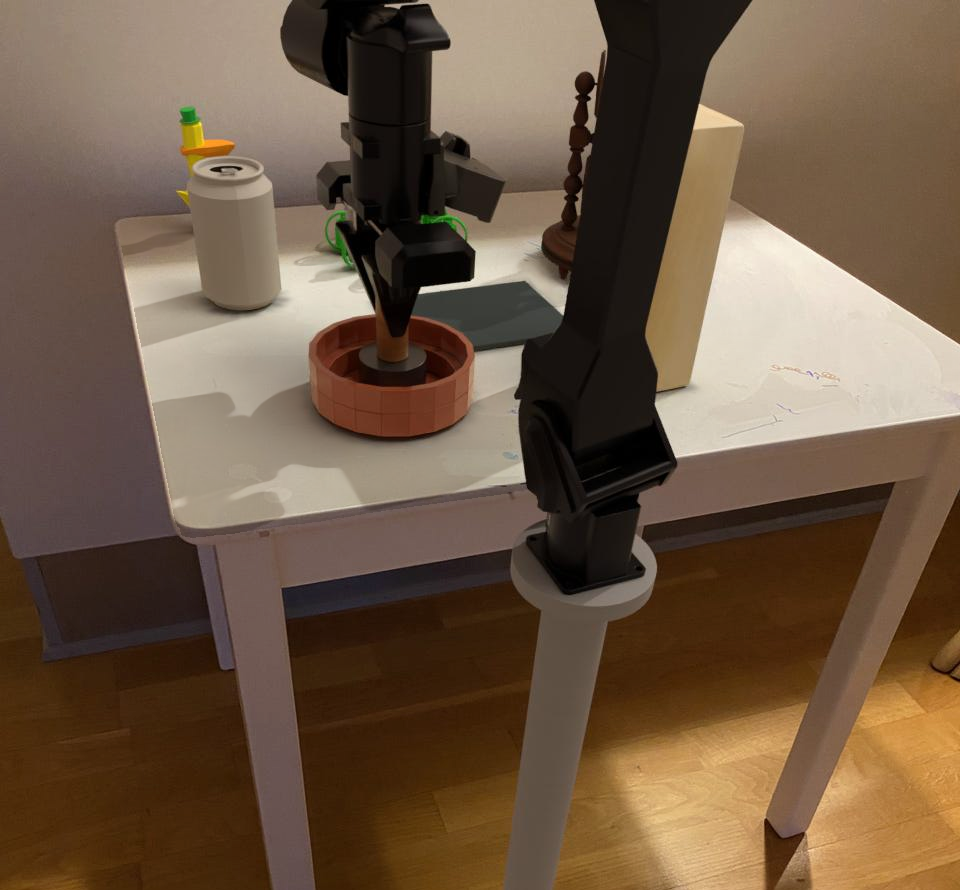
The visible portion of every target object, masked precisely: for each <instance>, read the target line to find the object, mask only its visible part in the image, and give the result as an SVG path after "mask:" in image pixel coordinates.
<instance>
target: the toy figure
mask: <svg viewBox="0 0 960 890" xmlns="http://www.w3.org/2000/svg"><path fill="white" fill-rule="evenodd" d="M179 113H180V115H181V118H180V119H179V123H180V129H181V136H182V143H183V145H182V146H180V147H179V150H180V155H182V156H183V157H185V159H186V163H187V166H188V170H189V174H190V178H191V177H192V176H193V175H194V173H193V172H192V166H193V165H194V164H195V163H196V162H198V161H200V160H202V159H207V158H211V157H220V156H230V154H231V153H232V151H233V150H235V147H236V144H235V142H233V141H230V140H227V139H216V138H215V139H204V130H203V123H202V122H201V120H202V118H201V117H200V116H197V111H196V107H194V106H184V107H181V108H180V109H179ZM175 192H176V194H177V195H178V196H179V197H180V199H182V200H183V202H184V203H185V204H186V206H187V207H188V208H189V209H190V205H189V198H188V191H187V189H186V190H175Z"/></svg>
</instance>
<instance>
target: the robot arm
mask: <svg viewBox="0 0 960 890" xmlns="http://www.w3.org/2000/svg"><path fill="white" fill-rule="evenodd" d="M419 1H420V0H291V1H290V2H289V4H288V6H287V7H286V9H285V13H284V15H283V19H282V25H281V26H280V28H279V30H280V32H279V37H280V43H281V49H282V51H283V54H284V55H285V59H286V60H287V62H288V63H289V65H290V66H291V67H292V68H293V69H294V70H295V71H296V72H297V73H298V74H300V75H301V76H304V77H306V78H308V79H310V80H312V81H314V82H316V83H318V84H320V85H322V86H324V87H326V88H328V89H330V90H332V91H334V92H335V93H338V94H340V95H342V96H346V97H347V106H348V107H347V108H348V121H342V122H340V138H341V139H342V141H344V143H346V144H347V145H348V146H349V160H334V161H326V162H325V163H324V165H323V166H322V167H321V168H320V169H319V171H318V172H317V173H316V176H315V179H316V195H317V200H318V202H319V203H320V204H321V205H322V207H323V208H324V209H325V210H326V211H334V210H335V208H336V205H337V202H338V201H337V199H338V198H339V199H340V201H339V202H340V203H341V204H342V205H343V206H344V211H345V220H344V221H338V222H336V221H335V224H334V225H335V226H336V229H337V231H338V232H339V234H340V236H341V238H342V240H343V242H344V245H345V247H346V249H347V251H348V253H349V256H350V258H351V260H352V262H353V266H355V269H354V270H355V271H356V273H357V275H358V277H359V280H360V282H361V284H362V286H363V288H364V290H365V291H364V292H365V293H366V296H367V298H368V300H369V302H370V304H371V307H372V310H373V312H374V314H376V300H375V296H376V298H377V301H378V304H379V307H380V309H381V312H382V315H383V318H384V320H385V323H386V326H387V328H388V331H389V333H390V335H391V337H393V338H395V337H402V336H404V335H405V332H406V329H407V326H408V323H409V320H410V317H411V314H412V311H413V308H414V305H415V302H416V299H417V296H418V294H420V291H421V288H426V287H435V286H436V287H437V286H444V285H450V284H451V285H453V284H461V283H468V282H471V281H472V280H473V279H475V274H476V273H475V272H476V271H475V270H476V268H475V267H476V255H477V251H476V250H475V249H474V248H473V246H471V244H470V243H469V242H468V240H467V241H466V240H465V238H464V237H463V236H461V234H460V233H459V232H458V231H457V232H456V231H455V230H454V229H453V228H452V227H451V226H450V225H449V224H448V223H447V222H443V221H442V222H437V223H427V224H423V223H421V222H420V220H422V216H423V215H428V216H429V217H439V216H445V209H446V207H447V208H448V209H452V210H453V211H454V210H455V211H458V212H461V213H464V214H467V215H470V216H473V217H476V219H477V220H478V221H480V222H483V223H486V224H490V223H491V222H492V220H493V217H494V216H495V215H494V214H495V212H496V209H497V207H498V204H499V201H500V199H501V196H502V193H503V190H504V188H505V186H506V182H507V180H506V179H505V178H504V177H502V176H501V175H500V174H498V173H497V172H496V171H495V170H493V169H492V168H491V167H489V166H488V165H487V164H484V163H483V162H481V161H480V160H478V159H477V158H474V157H471V145H470V143H469V141H467V140H466V139H464V138H463V137H462V136H460V135H458V134H455V133H452V132H450V131H447V130H445V131H444V132H443V133H442V134H441V135H440V136H439V135H437V134H436V133H435V132H434V131H433V130H432V93H433V92H432V91H433V89H432V87H433V52H438V51H447V50H449V49H450V48H451V44H452V42H451V41H452V40H451V37H450V36H449V34H448V32H447V30H446V28H445V27H444V25H442V24H441V23H440V22H439V20H438V19H437V18H436V16H435V14H434V11H433V9H432V7H431V4H429V3H418V2H419ZM593 2H594V6H595V9H596V11H597V16H598V18H599V21H600V24H601V28H602V31H603V34H604V35H603V36H604V38H605V41H606V47H607V48H606V58H605V68H604V76H603V83H602V89H601V95H600V101H599V107H598V112H597V118H596V117H595V124H594V125H595V126H594V131H593V133H594V136H593V142H592V144H591V149H590V154H589V155H590V160H589V166H588V172H587V178H586V184H585V190H584V196H583V202H582V208H581V207H580V210H581V213H579V215H580V220H579V226H578V232H577V238H576V244H575V250H574V256H573V262H572V268H571V271H570V273H569V279H568V285H567V286H568V287H567V291H566V298H565V304H564V310H563V314H562V315H563V318H562V321H561V323H560V325H559V326H558V328H557V329H556V330H555V332H551V333H548V334H544V335H541V336H537V337H534V338H530V339H528V340H527V341H526V343H525V344H524V346H523V349H522V351H521V355H520V356H521V357H520V378H519V382H518V387H517V388H516V390H515V392H514V394H513V398H514V400H516V401H517V400H518V401H519V400H520V401H519V405H518V415H517V417H518V418H517V421H518V422H517V423H518V424H517V425H518V434H519V442H520V449H521V456H522V465H523V472H524V479H525V486H526V489H527V490H528V491H529V492H530V493H532V494H533V495H534V496H535V497H536V500H537V504H536V507H537V508H538V509H539V510H540V511H542V512H544V513H546V518H545V519H546V532H541V533H537V534H533V535H529V536H527V537H526V545H527V547H528V548H529V549H530V551H531V552H532V553H533V555H534V556H535V557H536V559H537V560H538V561H539V563H540V564H541V565H542V567H543V568H544V569H545V571H546V572H547V573H548V575H549V576H550V577H551V579H552V580H553V581H554V583H555V584H556V585H557V587H558V588H559V589H560V591H561V592H562V593H563V594H565V595H574V594H578V593H582V592H586V591H590V590H594V589H598V588H602V587H606V586H610V585H613V584H617V583H621V582H625V581H629V580H633V579H637V578H641V577H643V576H644V575H645V572H646V568H645V567H644V565H643V564H642V563H641V562H640V561H639V560H638V558H637V557H636V556H635V555H634V554H633V553H632V548H633V543H634V538H635V534H636V535H637V529H638V524H639V519H640V515H641V511H642V510H641V509H642V505H641V504H640V503H639V498H640V493H641V494H642V493H643V492H645V491H648V490H650V489H653V488H655V487H661V486H664V485H666V484H667V483H668V482H669V480H670V478H671V477H672V476H673V474H674V473H675V471H676V470H677V468H678V460H677V458H676V455H675V452H674V451H673V448H672V445H671V443H670V439H669V438H668V434H667V432H666V430H665V426H664V424H663V422H662V420H661V417H660V414H659V412H658V409H657V405H656V399H657V392H656V390H657V381H658V369H657V366H656V363H655V361H654V358H653V355H652V352H651V349H650V347H649V344H648V341H647V338H646V335H645V333H646V326H647V321H648V317H649V313H650V309H651V305H652V300H653V296H654V292H655V288H656V283H657V279H658V275H659V271H660V267H661V262H662V258H663V254H664V250H665V246H666V241H667V237H668V233H669V229H670V225H671V220H672V216H673V212H674V208H675V203H676V199H677V195H678V191H679V187H680V182H681V178H682V174H683V170H684V166H685V161H686V157H687V153H688V149H689V145H690V140H691V136H692V132H693V128H694V124H695V119H696V115H697V111H698V107H699V104H700V101H701V97H702V94H703V90H704V85H705V81H706V77H707V73H708V70H709V67H710V64H711V61H712V60H713V57H714V56H715V55H716V53H718V50H719V49H720V47H721V46H722V45H723V43H724V42H725V40H726V39H727V38H728V36H729V34H730V33H731V32H732V31H733V29H734V28H735V26H736V25H737V23H738V22H739V21H740V19H741V17H742V16H743V15H744V13H745V12H746V10H747V9H748V8H749V6H750V5H751V3H752V2H753V0H593ZM389 5H400V7H399V8H398V7H394V6H389ZM335 226H334V227H335Z"/></svg>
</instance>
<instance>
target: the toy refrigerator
mask: <svg viewBox="0 0 960 890" xmlns="http://www.w3.org/2000/svg"><path fill="white" fill-rule="evenodd" d="M744 135H745V126H744V124H743V123H742V122H740V121H738V120H736V119H734V118H732V117H730V116H728V115H726V114H723V113H721V112H719V111H717V110H715V109H712V108H709V107H707V106H705V105H703V104H701V103H699V107H698V111H697V115H696V119H695V124H694V128H693V132H692V136H691V140H690V145H689V149H688V153H687V157H686V161H685V166H684V170H683V174H682V178H681V182H680V187H679V191H678V195H677V199H676V203H675V208H674V212H673V216H672V220H671V225H670V229H669V233H668V237H667V241H666V246H665V250H664V254H663V258H662V262H661V267H660V271H659V275H658V279H657V283H656V288H655V292H654V296H653V300H652V305H651V309H650V313H649V317H648V321H647V326H646V333H645V335H646V338H647V341H648V344H649V347H650V349H651V352H652V355H653V358H654V361H655V363H656V366H657V369H658V381H657V390H656V393H657V392H662V391H667V390H672V389H673V390H674V389H677V388H682V387H685V386H689V384H690V383H691V379H692V375H693V370H694V366H695V361H696V356H697V353H698V347H699V343H700V339H701V335H702V329H703V325H704V319H705V314H706V310H707V305H708V301H709V297H710V293H711V292H710V291H711V288H712V283H713V278H714V273H715V269H716V264H717V260H718V254H719V249H720V245H721V242H722V241H721V240H722V237H723V231H724V227H725V222H726V218H727V214H728V209H729V204H730V201H731V195H732V190H733V185H734V182H735V176H736V171H737V168H738V164H739V159H740V154H741V149H742V144H743V141H744Z"/></svg>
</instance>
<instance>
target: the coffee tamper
mask: <svg viewBox="0 0 960 890" xmlns="http://www.w3.org/2000/svg"><path fill="white" fill-rule="evenodd" d="M375 300H376V339H377V341H376V342H372V343H370V344H367V345H366V346H364V347H363V348H362V349H361V350H360V352H359V378H360V383H361V384H368V385H374V386H380V387H410V386H416V385H422V384H426V366H427V355H426V352H425V351H424V350H423V349H422V348H421V347H420V346H418V345H416V344H414V343H411V342H408V326H407V329H406V332H405V335H404V336H402V337H395V338H393V337H391V335H390V333H389V331H388V328H387V326H386V323H385V320H384V318H383V315H382V312H381V309H380V307H379V304H378V301H377V298H376V296H375Z"/></svg>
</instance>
